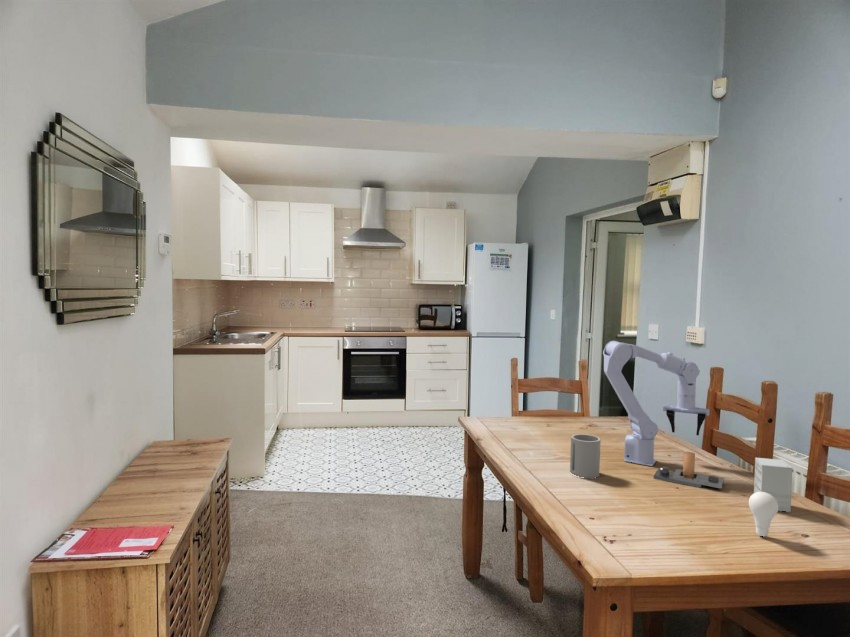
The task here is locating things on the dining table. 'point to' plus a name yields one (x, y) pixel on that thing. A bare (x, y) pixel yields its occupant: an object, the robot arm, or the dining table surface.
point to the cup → (585, 455)
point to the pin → (688, 464)
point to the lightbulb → (763, 511)
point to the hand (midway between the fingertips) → (685, 433)
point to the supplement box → (774, 481)
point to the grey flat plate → (688, 478)
